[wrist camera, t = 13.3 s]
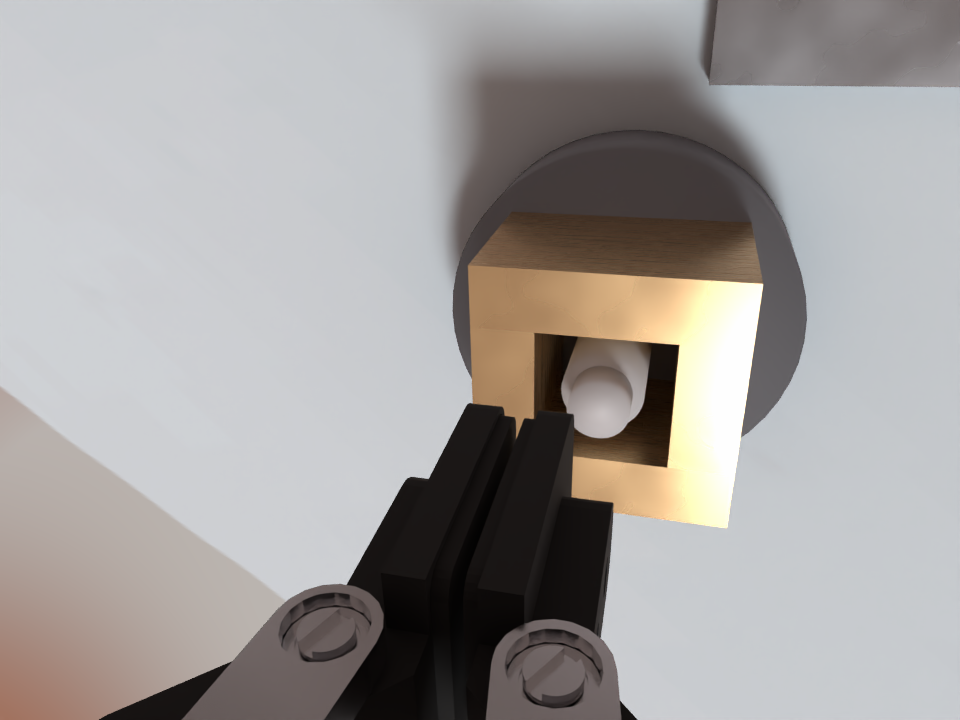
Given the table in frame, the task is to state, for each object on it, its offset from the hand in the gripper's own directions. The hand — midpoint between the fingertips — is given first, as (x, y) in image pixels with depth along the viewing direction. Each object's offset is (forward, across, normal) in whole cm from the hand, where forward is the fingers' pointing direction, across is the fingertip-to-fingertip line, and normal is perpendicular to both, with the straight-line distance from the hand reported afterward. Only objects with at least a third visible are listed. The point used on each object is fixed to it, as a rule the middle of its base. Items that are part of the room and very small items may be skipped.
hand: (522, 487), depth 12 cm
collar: (+13, -1, +3) cm, 13 cm away
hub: (+16, -1, +3) cm, 16 cm away
